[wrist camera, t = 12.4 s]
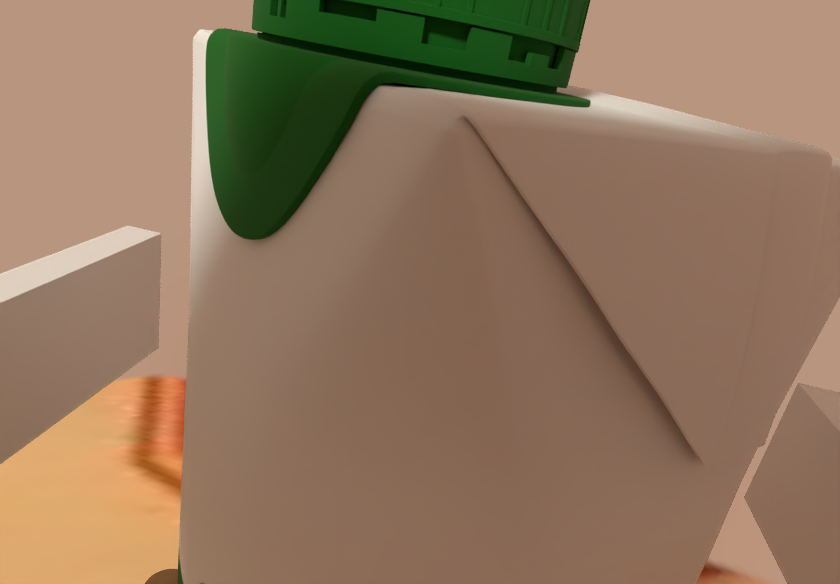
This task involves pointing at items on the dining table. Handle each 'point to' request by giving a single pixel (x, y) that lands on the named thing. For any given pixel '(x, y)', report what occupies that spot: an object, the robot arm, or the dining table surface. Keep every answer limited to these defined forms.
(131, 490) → the dining table surface
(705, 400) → the soya milk
